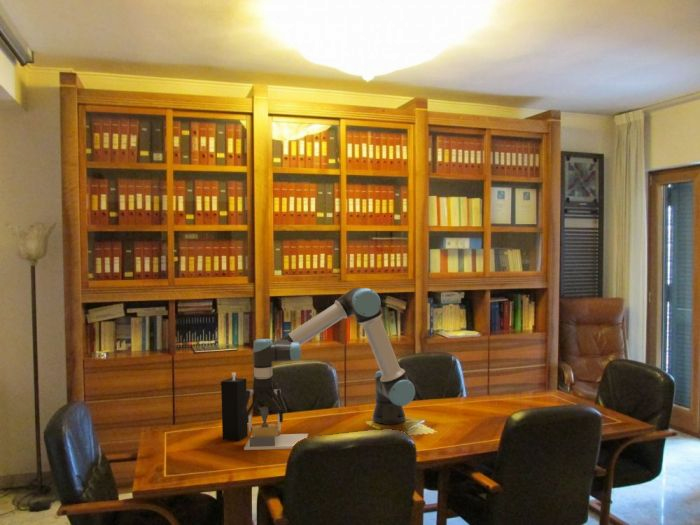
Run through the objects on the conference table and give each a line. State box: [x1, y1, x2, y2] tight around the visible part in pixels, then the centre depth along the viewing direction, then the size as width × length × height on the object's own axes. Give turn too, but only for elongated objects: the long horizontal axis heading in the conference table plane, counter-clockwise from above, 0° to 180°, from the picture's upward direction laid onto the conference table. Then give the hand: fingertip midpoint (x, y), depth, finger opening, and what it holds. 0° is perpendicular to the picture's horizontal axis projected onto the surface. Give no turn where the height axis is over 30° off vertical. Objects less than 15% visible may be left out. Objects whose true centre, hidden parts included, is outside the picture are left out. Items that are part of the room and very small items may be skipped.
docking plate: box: [243, 431, 309, 451], centre depth 225 cm, size 24×16×4 cm, turn 90°
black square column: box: [220, 371, 249, 442], centre depth 233 cm, size 8×8×28 cm
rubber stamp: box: [250, 405, 278, 437], centre depth 225 cm, size 10×6×12 cm, turn 115°
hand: (264, 430), depth 225 cm, fingers closed on rubber stamp, 11 cm apart
